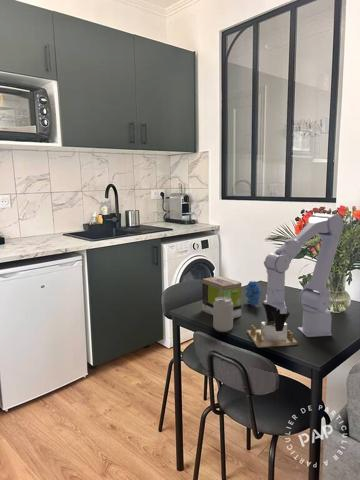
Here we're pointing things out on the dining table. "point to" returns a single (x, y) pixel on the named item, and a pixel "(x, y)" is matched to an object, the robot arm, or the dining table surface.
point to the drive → (272, 332)
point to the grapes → (253, 293)
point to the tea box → (221, 293)
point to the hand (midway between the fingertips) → (274, 326)
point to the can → (223, 314)
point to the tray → (259, 342)
